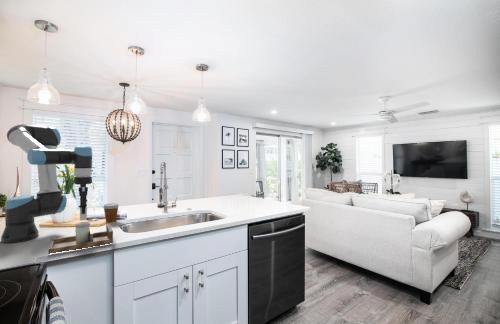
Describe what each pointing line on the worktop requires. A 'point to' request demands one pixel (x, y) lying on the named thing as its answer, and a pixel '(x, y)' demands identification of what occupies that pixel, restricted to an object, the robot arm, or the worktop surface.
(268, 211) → the worktop surface
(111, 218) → the disposable coffee cup
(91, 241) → the pusher
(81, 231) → the jar
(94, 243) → the brown wooden tray
